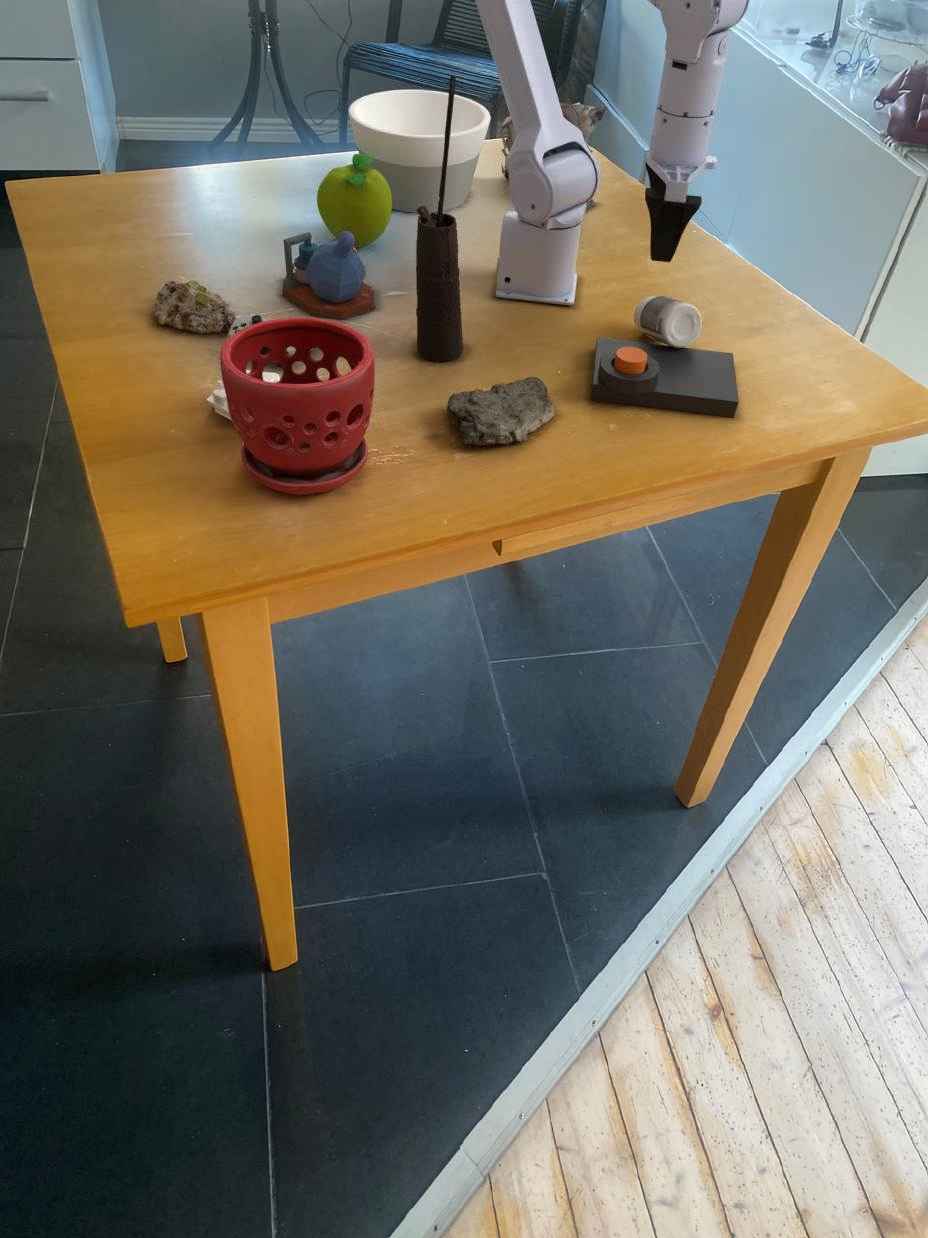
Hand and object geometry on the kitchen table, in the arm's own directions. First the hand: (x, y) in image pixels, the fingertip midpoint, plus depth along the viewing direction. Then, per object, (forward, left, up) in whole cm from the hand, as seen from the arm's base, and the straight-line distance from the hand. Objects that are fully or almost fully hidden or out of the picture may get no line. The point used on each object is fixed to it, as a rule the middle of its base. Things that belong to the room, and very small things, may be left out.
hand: (660, 245), depth 103 cm
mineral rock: (-50, -9, -11) cm, 52 cm away
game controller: (-40, -14, -11) cm, 44 cm away
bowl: (-32, +33, -11) cm, 48 cm away
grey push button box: (+2, -11, -10) cm, 15 cm away
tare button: (-2, -14, -7) cm, 16 cm away
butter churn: (-23, -9, -11) cm, 27 cm away
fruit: (-37, +15, -11) cm, 42 cm away
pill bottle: (+4, -6, -6) cm, 9 cm away
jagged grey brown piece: (-14, +38, -11) cm, 42 cm away
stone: (-14, -22, -11) cm, 28 cm away
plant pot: (-31, -33, -11) cm, 47 cm away
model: (-37, 0, -11) cm, 39 cm away
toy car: (-39, -25, -11) cm, 48 cm away
